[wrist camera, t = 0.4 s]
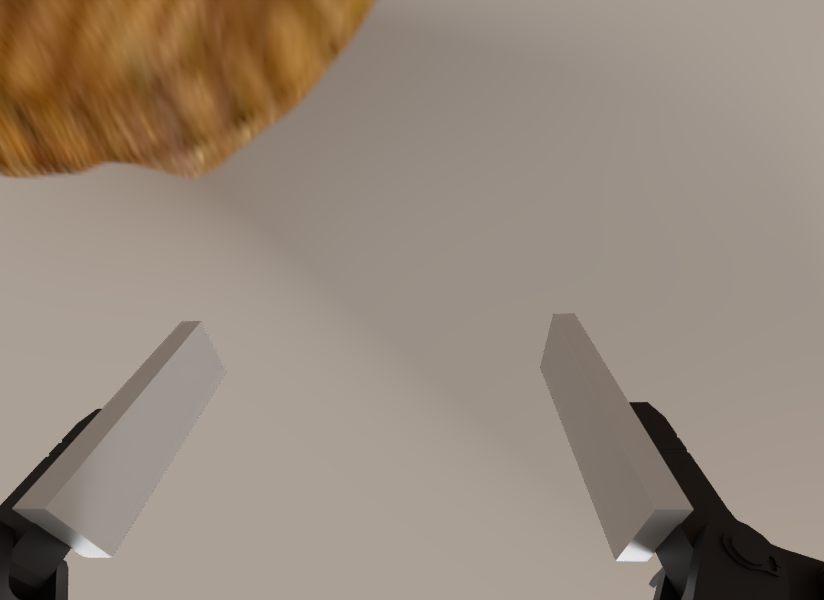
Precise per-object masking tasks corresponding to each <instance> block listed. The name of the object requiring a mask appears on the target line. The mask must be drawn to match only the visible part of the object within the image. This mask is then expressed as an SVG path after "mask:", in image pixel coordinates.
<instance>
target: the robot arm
mask: <svg viewBox="0 0 824 600" xmlns="http://www.w3.org/2000/svg"><path fill="white" fill-rule="evenodd" d="M540 368H541V371H542V373H543V376H544V379H545V381H546V383H547V386H548V389H549V391H550V394H551V397H552V399H553V402H554V404H555V407H556V409H557V412H558V415H559V417H560V420H561V422H562V425H563V427H564V430H565V432H566V435H567V438H568V440H569V443H570V445H571V448H572V451H573V453H574V456H575V458H576V461H577V463H578V466H579V468H580V471H581V473H582V476H583V479H584V481H585V484H586V486H587V489H588V491H589V494H590V497H591V499H592V502H593V504H594V507H595V509H596V512H597V515H598V517H599V520H600V522H601V525H602V528H603V530H604V533H605V535H606V538H607V540H608V543H609V545H610V548H611V551H612V553H613V556H614V558H615V561H647V560H648V559H649V558H650V557H651V556H652V555H653V554H654V553H655V552H656V554H657V556H658V558H659V560H660V562H661V564H662V566H663V568H662V569H661V570H660V571H659V572H658V573H657V574H656V575H655V576H654V577H653V578H652V580H651V581H650V583H649V585H651V586H652V587H655V586H656V585H657V587H656V591H655V595H654V599H653V600H824V562H823V561H820V560H816V559H814V558H810V557H807V556H804V555H801V554H798V553H795V552H791V551H788V550H785V549H782V548H780V547H777V546H774V545H772V544H770V542H769V541H768V540H767V539H766V538H765V537H764V536H763V535H761V534H760V533H758V532H757V531H755V530H754V529H753V528H751V527H750V526H748V525H746V524H744V523H741V522H739V521H738V520H737V519H735V517H734V516H733V515H732V514H731V512H730V511H729V510H728V509H727V507H726V506H725V504H724V503H723V501H722V500H721V498H720V497H719V496H718V494H717V493H716V491H715V490H714V488H713V487H712V485H711V484H710V482H709V481H708V479H707V478H706V476H705V475H704V474H703V472H702V471H701V469H700V468H699V466H698V465H697V464H696V462H695V460H694V459H693V458H692V456H691V455H690V453H688V452H687V449H686V447H685V446H684V445H683V443H682V442H681V440H680V439H679V438H677V434H676V433H675V431H674V430H673V428H672V427H671V425H670V424H669V422H668V421H667V419H666V418H665V417H664V416H663V415H662V414H661V413H659V412H658V411H657V410H656V409H655V408H653V407H652V406H651V405H650V404H649V403H648V402H628V401H627V399H626V397H625V396H624V394H623V392H622V391H621V389H620V387H619V386H618V384H617V382H616V381H615V379H614V377H613V376H612V374H611V373H610V371H609V369H608V368H607V366H606V364H605V363H604V361H603V359H602V358H601V356H600V354H599V353H598V351H597V349H596V348H595V346H594V344H593V343H592V341H591V340H590V338H589V336H588V335H587V333H586V331H585V330H584V328H583V326H582V325H581V323H580V321H579V320H578V318H577V317H576V315H575V314H574V313H572V314H553V317H552V321H551V325H550V329H549V333H548V338H547V342H546V346H545V350H544V354H543V358H542V362H541V366H540ZM225 374H226V370H225V368H224V366H223V364H222V362H221V360H220V358H219V356H218V354H217V352H216V350H215V348H214V346H213V344H212V342H211V340H210V338H209V336H208V334H207V332H206V330H205V328H204V326H203V324H202V322H201V321H186V322H181V323H180V324H179V325H178V326H177V327H176V328H175V330H174V331H173V332H172V333H171V334H170V335H169V336H168V337H167V338H166V339H165V340H164V342H163V343H162V344H161V345H160V346H159V347H158V348H157V349H156V350H155V351H154V353H153V354H152V355H151V356H150V357H149V358H148V359H147V360H146V361H145V363H144V364H143V365H142V366H141V367H140V368H139V369H138V370H137V371H136V372H135V374H134V375H133V376H132V377H131V378H130V379H129V380H128V381H127V383H125V385H124V386H123V387H122V388H121V389H120V390H119V391H118V392H117V393H116V394H115V396H114V397H113V398H112V399H111V400H110V401H109V402H108V403H107V404H106V405H105V407H104V408H103V409H97V410H95V411H94V412H92V413H91V414H90V415H88V416H87V417H85V418H84V419H83V420H81V421H80V422H79V423H77V424H76V425H75V426H74V428H73V429H72V430H71V431H70V432H69V433H68V434H67V435H66V436H65V437H64V438H63V439H62V443H59V444H58V445H57V446H56V447H55V448H54V449H53V450H52V451H51V452H50V453H49V456H48V457H45V459H43V461H42V462H41V463H40V464H39V465H38V466H37V467H36V468H35V469H34V470H33V471H32V472H31V473H30V474H29V475H28V477H27V478H26V479H25V480H24V481H23V482H22V483H21V484H20V485H19V486H18V487H17V488H16V489H15V491H13V493H12V494H11V495H10V496H9V497H8V498H7V499H6V500H5V501H4V502H3V503H2V504H1V505H0V600H68V566H67V562H66V561H64V560H63V559H64V558H65V556H66V555H67V553H68V552H69V551H70V549H73V550H74V551H76V552H77V553H79V554H80V555H82V556H83V557H94V558H95V557H97V558H98V557H99V558H107V557H108V558H112V557H113V556H114V554H115V552H116V551H117V549H118V547H119V545H120V544H121V542H122V541H123V539H124V538H125V536H126V534H127V533H128V531H129V530H130V528H131V526H132V525H133V523H134V521H135V520H136V518H137V517H138V515H139V513H140V512H141V510H142V509H143V507H144V505H145V503H146V502H147V500H148V499H149V497H150V496H151V494H152V492H153V491H154V489H155V487H156V486H157V484H158V483H159V481H160V479H161V478H162V476H163V474H164V473H165V471H166V470H167V468H168V466H169V465H170V463H171V462H172V460H173V458H174V457H175V455H176V453H177V452H178V450H179V449H180V447H181V445H182V444H183V442H184V440H185V439H186V437H187V436H188V434H189V432H190V431H191V429H192V427H193V426H194V424H195V423H196V421H197V419H198V418H199V416H200V415H201V413H202V411H203V409H204V408H205V406H206V405H207V403H208V402H209V400H210V398H211V396H212V395H213V393H214V392H215V390H216V389H217V387H218V385H219V384H220V382H221V380H222V379H223V377H224V376H225Z"/></svg>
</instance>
